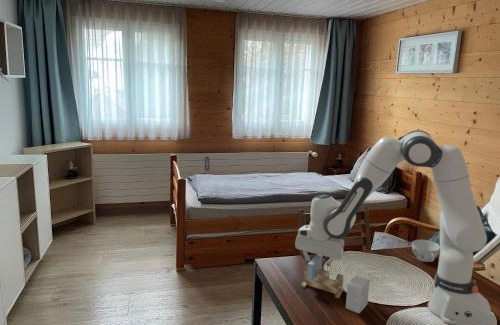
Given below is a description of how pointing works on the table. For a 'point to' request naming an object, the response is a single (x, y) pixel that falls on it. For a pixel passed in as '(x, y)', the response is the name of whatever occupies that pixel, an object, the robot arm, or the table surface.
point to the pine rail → (325, 282)
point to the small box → (357, 294)
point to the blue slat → (314, 267)
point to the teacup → (425, 250)
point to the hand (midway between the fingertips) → (317, 263)
